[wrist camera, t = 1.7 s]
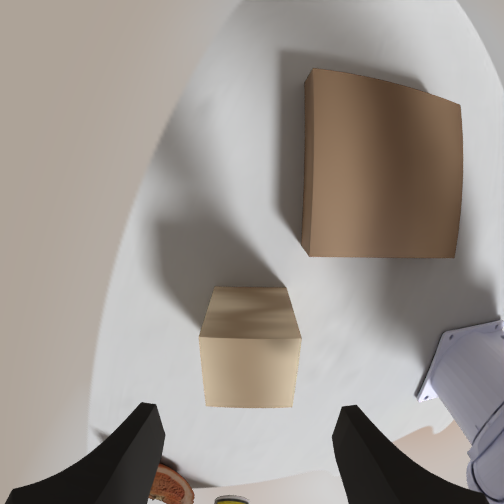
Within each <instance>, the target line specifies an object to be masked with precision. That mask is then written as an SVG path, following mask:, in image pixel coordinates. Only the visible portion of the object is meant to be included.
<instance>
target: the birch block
mask: <svg viewBox="0 0 504 504" xmlns="http://www.w3.org/2000/svg"><path fill="white" fill-rule="evenodd" d="M301 340H302V338H301V334H300V331H299V328H298V324H297V321H296V318H295V314H294V311H293V308H292V304H291V301H290V298H289V294H288V291H287V288H286V287H217V286H215V287H214V290H213V293H212V296H211V300H210V303H209V306H208V309H207V312H206V315H205V319H204V322H203V325H202V328H201V331H200V335H199V345H200V356H201V366H202V376H203V385H204V393H205V401H206V406H212V407H231V408H286V407H292V405H293V398H294V392H295V385H296V378H297V371H298V364H299V356H300V348H301Z"/></svg>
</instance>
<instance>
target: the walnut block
mask: <svg viewBox="0 0 504 504" xmlns="http://www.w3.org/2000/svg"><path fill="white" fill-rule="evenodd" d="M304 88H305V155H304V193H303V218H302V237H301V246H302V247H303V249H304V250H305V251H306V253H307V254H308V256H309V257H374V258H454V257H455V251H456V245H457V238H458V231H459V223H460V213H461V202H462V186H463V133H462V118H461V107H460V105H459V104H457V103H454V102H452V101H449V100H446V99H443V98H441V97H438V96H435V95H432V94H429V93H426V92H423V91H420V90H417V89H413V88H410V87H406V86H403V85H399V84H395V83H392V82H388V81H384V80H379V79H375V78H370V77H366V76H361V75H355V74H350V73H344V72H338V71H332V70H324V69H317V68H313V69H312V71H311V72H310V74H309V76H308V77H307V79H306V81H305V83H304Z"/></svg>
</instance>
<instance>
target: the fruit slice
mask: <svg viewBox="0 0 504 504" xmlns="http://www.w3.org/2000/svg"><path fill="white" fill-rule="evenodd" d="M148 498H150V499H153V500H154V499H157V500H160V501H161V500H162V501H163V502H164V503H166V504H193V503H194V501H193V500H194V492H193V490H192V488H191V487H190V485H189V484H188V482H187V481H186V480H185V479H184V478H183V477H182V476H181V475H180V474H178V473H177V472H176V471H174V470H173V469H171V468H169V467H167V466H165V465H163V464H160V463H159V466H158V469H157V472H156V475H155V478H154V481H153V484H152V487H151V491H150V494H149V497H148Z"/></svg>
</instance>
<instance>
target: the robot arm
mask: <svg viewBox="0 0 504 504" xmlns="http://www.w3.org/2000/svg"><path fill="white" fill-rule="evenodd" d="M503 326H504V321H503V320H498V321H494V322H490V323H485V324H481V325H476V326H471V327H466V328H461V329H456V330H451V331H446V332H444V333H443V335H442V337H441V339H440V342H439V345H438V348H437V351H436V354H435V356H434V359H433V361H432V364H431V367H430V369H429V372H428V374H427V376H426V379H425V381H424V383H423V386H422V388H421V390H420V392H419V394H418V397H417V401H418V402H423V401H426V400H430V399H433V398H437V397H439V398H440V400H441V401H442V402H443V404H444V405H445V407H446V408H447V410H448V411H449V412H450V414H451V415H452V417H453V418H454V420H455V421H456V423H457V424H458V425H459V427H460V428H461V430H462V431H463V433H464V434H465V436H466V437H467V439H468V440H469V442H470V443H471V445H472V447H471V449H470V450H469V451H468V452H467V454H468V455H469V457H470V459H471V460H470V462H469V464H468V466H467V472H466V474H467V484H468V487H469V489H466V488H463V487H460V486H458V485H455V484H453V483H450V482H448V481H446V480H444V479H442V478H440V477H438V476H436V475H434V474H432V473H430V472H429V471H427V470H425V469H424V468H423V467H421V466H420V465H418V464H417V463H415V462H414V461H413V460H411V459H410V458H409V457H408V456H406V455H405V454H404V453H403V452H402V451H400V450H399V449H398V448H397V447H396V446H395V445H394V444H393V443H392V442H391V441H390V440H389V439H388V438H387V437H386V436H385V435H384V434H383V433H382V432H381V431H380V430H379V429H378V428H377V427H376V426H375V425H374V424H373V423H372V422H371V421H370V419H369V418H368V417H367V416H366V415H365V414H364V413H363V412H362V410H361V409H360V408H359V407H358V406H357V405H351V406H344V407H342V408H341V411H340V414H339V417H338V420H337V423H336V426H335V429H334V432H333V435H332V441H333V447H334V453H335V458H336V462H337V465H338V468H339V472H340V475H341V478H342V481H343V485H344V488H345V491H346V494H347V498H348V502H349V504H504V331H502V328H503ZM164 440H165V432H164V429H163V426H162V423H161V419H160V416H159V413H158V409H157V406H156V404H150V403H144V402H142V403H140V404H139V405H138V406H137V408H136V409H135V410H134V411H133V412H132V413H131V414H130V415H129V416H128V417H127V419H126V420H125V421H124V422H123V423H122V424H121V425H120V426H119V427H118V428H117V429H116V430H115V431H114V432H113V433H112V434H111V435H110V436H109V437H108V438H107V439H106V440H105V441H103V442H102V443H101V444H100V445H99V446H98V447H97V448H95V449H94V450H93V451H92V452H90V453H89V454H88V455H87V456H85V457H84V458H82V459H81V460H80V461H78V462H77V463H75V464H73V465H72V466H70V467H68V468H67V469H65V470H64V471H61V472H60V473H58V474H56V475H54V476H51V477H49V478H47V479H44V480H42V481H40V482H37V483H34V484H30V485H27V486H23V487H19V488H15V489H13V490H12V491H11V493H10V495H9V497H8V499H7V501H6V503H5V504H147V501H148V497H149V494H150V491H151V487H152V484H153V481H154V478H155V475H156V472H157V469H158V466H159V462H160V459H161V456H162V451H163V446H164Z"/></svg>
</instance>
